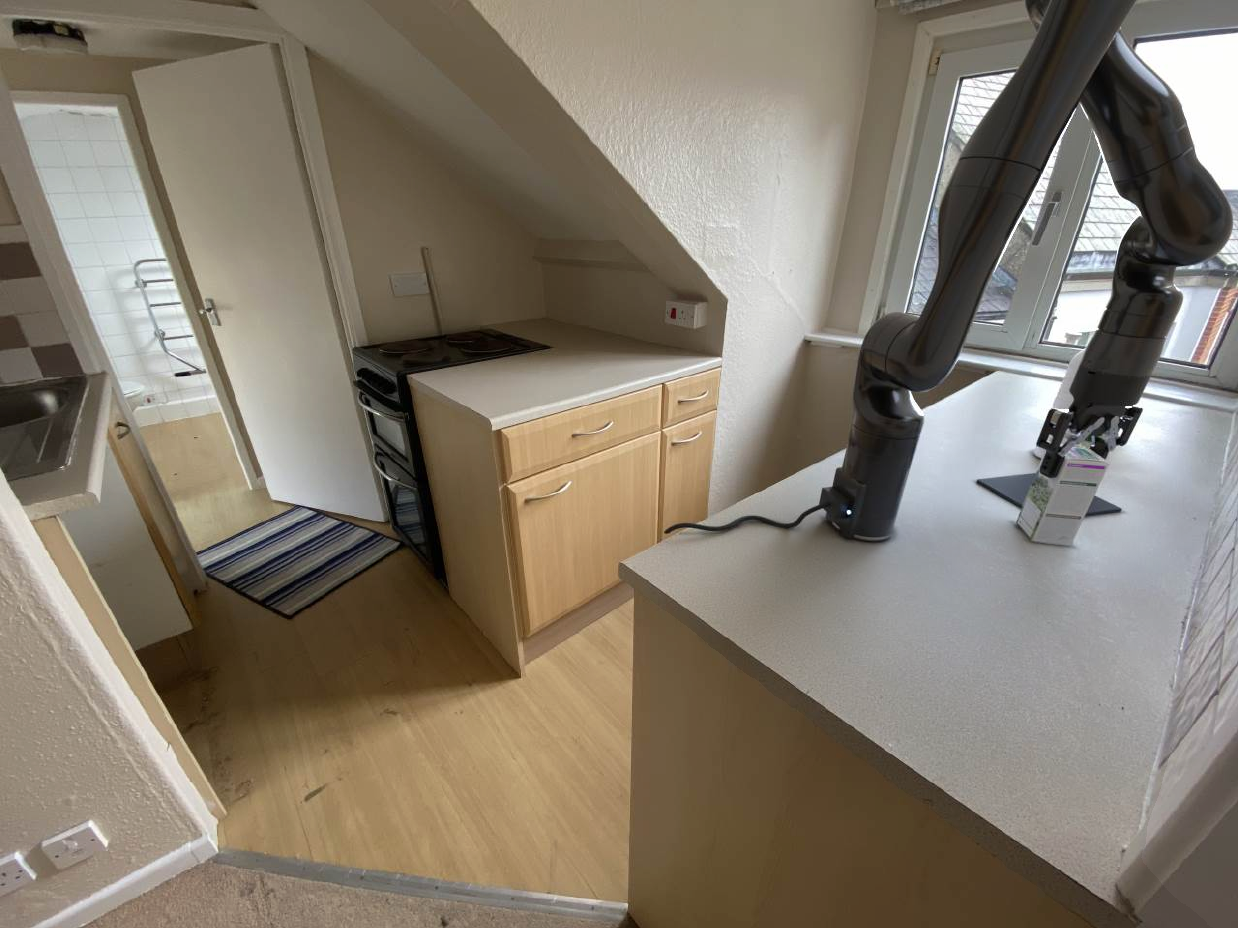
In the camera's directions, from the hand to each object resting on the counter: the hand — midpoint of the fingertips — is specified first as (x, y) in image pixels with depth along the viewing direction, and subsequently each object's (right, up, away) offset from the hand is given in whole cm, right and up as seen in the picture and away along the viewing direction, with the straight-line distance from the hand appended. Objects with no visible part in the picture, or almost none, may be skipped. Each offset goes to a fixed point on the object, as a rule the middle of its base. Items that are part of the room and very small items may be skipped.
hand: (1068, 473), depth 79 cm
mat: (+9, -4, +16) cm, 19 cm away
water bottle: (+22, +3, +31) cm, 39 cm away
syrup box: (0, -10, +5) cm, 11 cm away
